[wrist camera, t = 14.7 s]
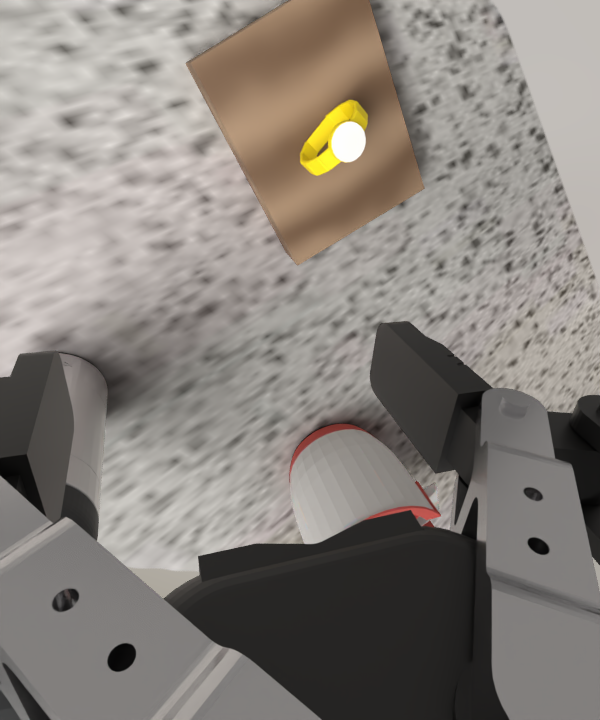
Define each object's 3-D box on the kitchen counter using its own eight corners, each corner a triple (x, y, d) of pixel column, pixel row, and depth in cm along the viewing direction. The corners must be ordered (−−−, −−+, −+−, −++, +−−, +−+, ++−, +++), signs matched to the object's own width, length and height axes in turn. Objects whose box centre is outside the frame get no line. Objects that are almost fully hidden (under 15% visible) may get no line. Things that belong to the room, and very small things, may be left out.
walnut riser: (404, 180, 47) (424, 188, 44) (286, 252, 47) (297, 265, 44) (337, -30, 37) (357, -40, 33) (185, 63, 37) (190, 62, 33)
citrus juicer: (400, 463, 69) (482, 583, 53) (293, 512, 68) (344, 650, 52) (383, 386, 61) (476, 501, 44) (260, 439, 59) (309, 579, 43)
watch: (331, 92, 37) (365, 90, 33) (353, 118, 39) (389, 119, 34) (285, 154, 38) (311, 161, 33) (308, 177, 40) (336, 186, 35)
